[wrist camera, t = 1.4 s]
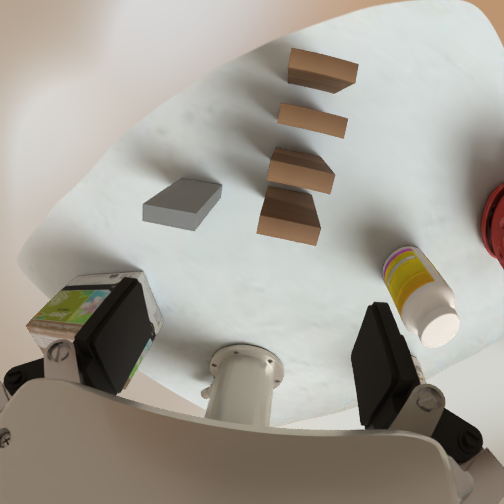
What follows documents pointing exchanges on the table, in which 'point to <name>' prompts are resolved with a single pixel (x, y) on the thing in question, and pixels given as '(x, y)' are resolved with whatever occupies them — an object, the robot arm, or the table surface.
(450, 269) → the table surface
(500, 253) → the plant pot
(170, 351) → the table surface
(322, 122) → the domino
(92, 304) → the tea box
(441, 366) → the table surface
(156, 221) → the head domino
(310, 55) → the domino
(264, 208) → the domino
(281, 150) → the domino
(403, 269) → the supplement bottle
